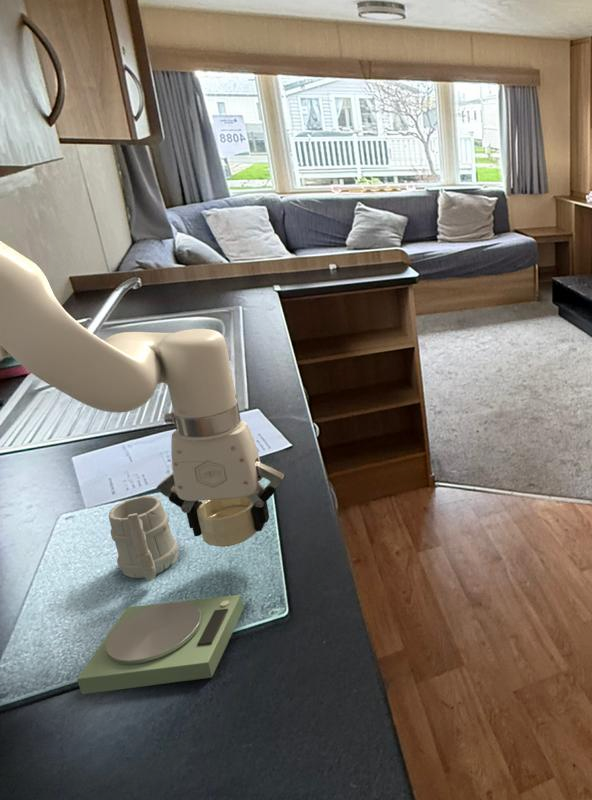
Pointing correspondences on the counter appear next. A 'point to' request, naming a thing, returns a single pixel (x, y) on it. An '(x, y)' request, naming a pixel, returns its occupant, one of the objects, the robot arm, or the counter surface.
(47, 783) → the counter surface
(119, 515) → the mug
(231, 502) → the bowl
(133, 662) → the platform
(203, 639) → the scale
